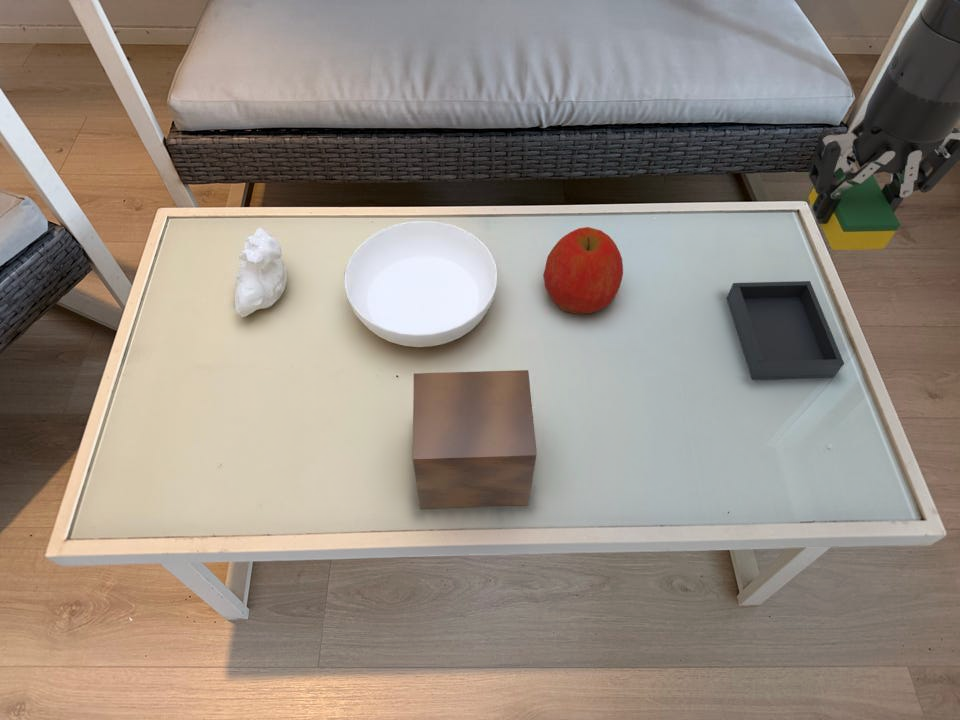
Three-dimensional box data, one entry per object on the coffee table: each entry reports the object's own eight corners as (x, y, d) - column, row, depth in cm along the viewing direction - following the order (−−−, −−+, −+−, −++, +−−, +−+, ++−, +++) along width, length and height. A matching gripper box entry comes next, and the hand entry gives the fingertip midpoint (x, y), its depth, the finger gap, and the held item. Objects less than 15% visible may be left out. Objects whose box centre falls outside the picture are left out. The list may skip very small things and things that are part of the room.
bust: (260, 337, 93) (298, 298, 85) (204, 313, 89) (239, 269, 82) (281, 270, 100) (318, 228, 92) (231, 245, 96) (265, 198, 88)
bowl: (510, 353, 89) (512, 323, 84) (357, 375, 87) (350, 346, 82) (481, 244, 100) (482, 212, 95) (345, 261, 98) (338, 229, 93)
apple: (601, 259, 99) (614, 203, 90) (628, 314, 93) (645, 260, 84) (532, 272, 97) (538, 216, 88) (555, 329, 91) (564, 275, 83)
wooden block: (521, 426, 83) (528, 369, 73) (528, 505, 77) (536, 455, 67) (420, 429, 83) (413, 373, 73) (419, 509, 77) (412, 459, 67)
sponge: (883, 249, 72) (900, 224, 70) (832, 250, 72) (846, 225, 69) (856, 196, 77) (871, 171, 74) (807, 197, 77) (820, 172, 74)
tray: (833, 377, 88) (844, 363, 85) (752, 379, 87) (760, 365, 85) (801, 295, 95) (810, 280, 93) (726, 297, 95) (733, 282, 92)
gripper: (869, 100, 58) (792, 245, 72) (1037, 98, 58) (928, 242, 72) (839, 49, 62) (771, 195, 76) (995, 47, 63) (900, 192, 76)
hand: (848, 217), depth 74 cm, fingers closed on sponge, 5 cm apart
